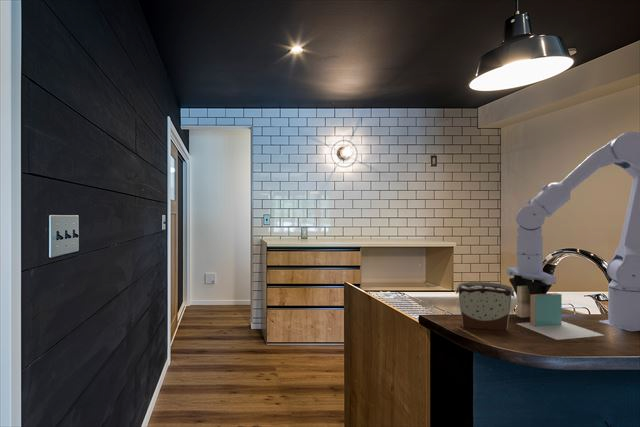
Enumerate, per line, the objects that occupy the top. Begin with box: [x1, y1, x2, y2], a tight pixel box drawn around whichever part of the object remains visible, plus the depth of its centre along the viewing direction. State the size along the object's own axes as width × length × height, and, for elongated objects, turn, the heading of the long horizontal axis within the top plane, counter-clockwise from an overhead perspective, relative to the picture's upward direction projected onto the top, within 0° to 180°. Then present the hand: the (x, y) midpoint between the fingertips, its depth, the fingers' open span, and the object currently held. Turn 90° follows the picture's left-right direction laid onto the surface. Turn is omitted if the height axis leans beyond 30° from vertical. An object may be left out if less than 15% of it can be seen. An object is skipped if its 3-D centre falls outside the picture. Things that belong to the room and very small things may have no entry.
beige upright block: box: [516, 286, 530, 318], centre depth 101 cm, size 6×2×8 cm, turn 103°
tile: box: [529, 292, 563, 327], centre depth 93 cm, size 7×2×7 cm, turn 103°
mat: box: [516, 320, 606, 341], centre depth 90 cm, size 12×12×1 cm
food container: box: [455, 281, 516, 331], centre depth 93 cm, size 12×6×10 cm, turn 74°
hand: (529, 308), depth 101 cm, fingers open, 4 cm apart
